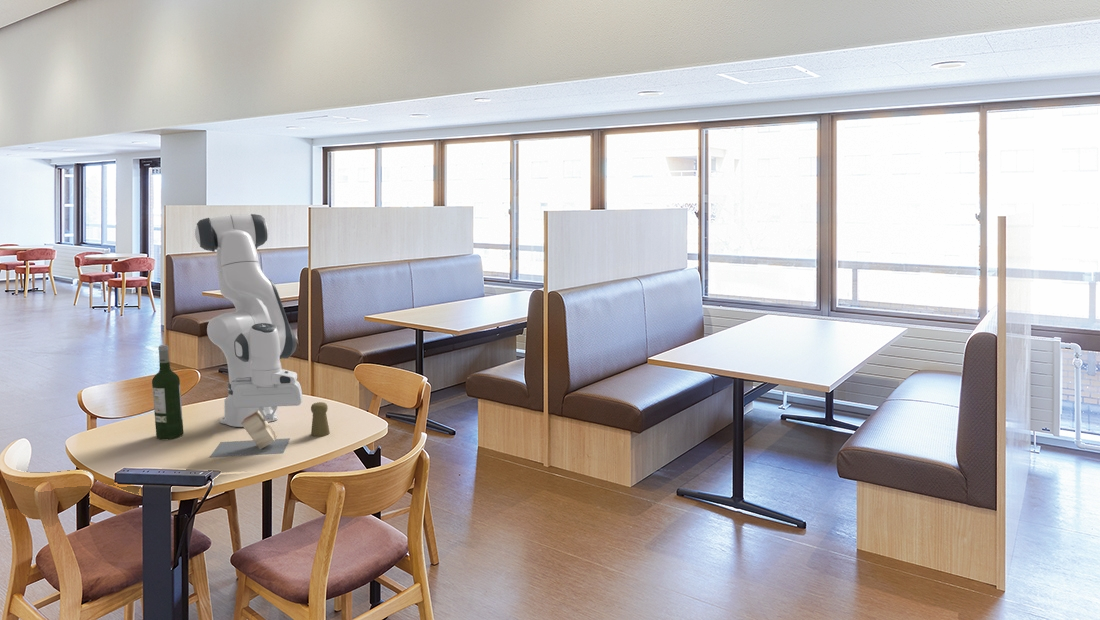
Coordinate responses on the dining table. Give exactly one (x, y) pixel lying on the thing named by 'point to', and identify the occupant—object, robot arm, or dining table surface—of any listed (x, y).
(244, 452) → the rubber mat
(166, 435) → the wine bottle
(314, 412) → the cork
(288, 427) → the dining table surface
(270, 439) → the pine block
